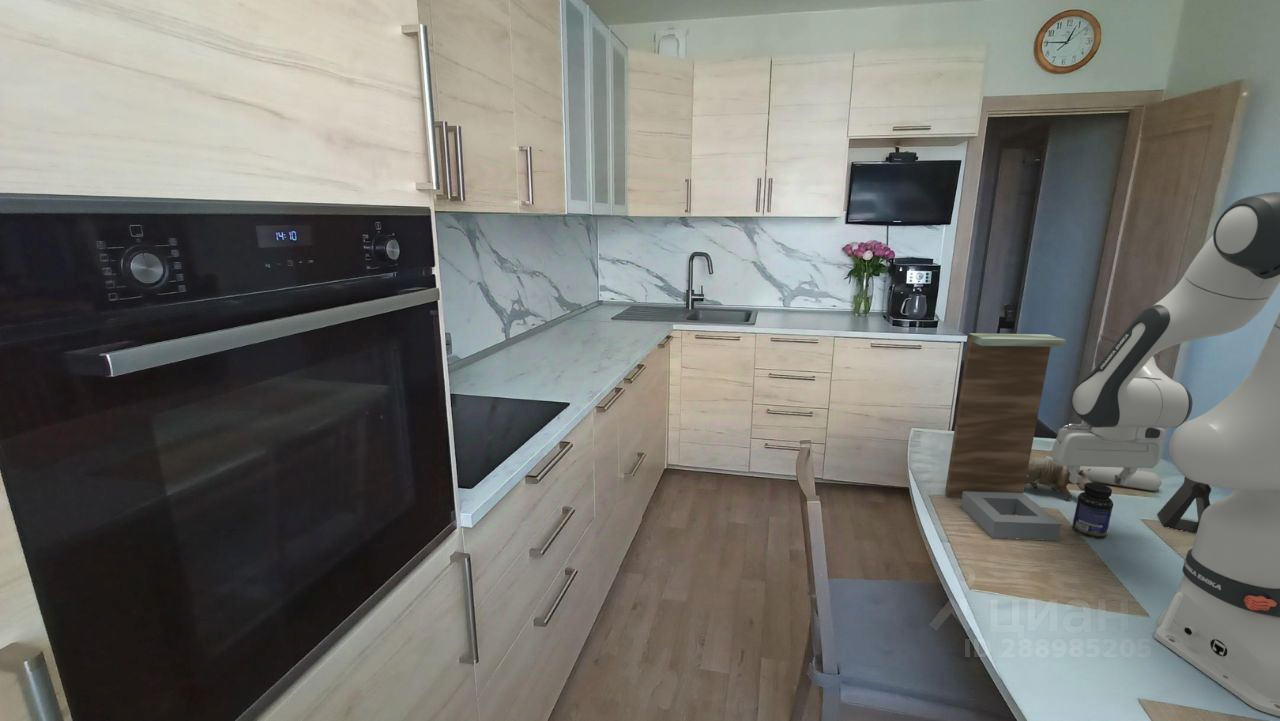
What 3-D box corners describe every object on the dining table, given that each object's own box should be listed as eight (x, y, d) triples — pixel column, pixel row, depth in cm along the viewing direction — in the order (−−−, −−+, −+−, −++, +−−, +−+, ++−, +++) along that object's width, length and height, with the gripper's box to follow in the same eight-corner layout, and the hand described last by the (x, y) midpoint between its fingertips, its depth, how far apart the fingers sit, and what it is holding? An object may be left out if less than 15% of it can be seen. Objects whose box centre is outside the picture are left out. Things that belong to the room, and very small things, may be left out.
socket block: (1058, 540, 122) (1061, 523, 121) (991, 538, 123) (994, 521, 122) (1020, 508, 136) (1023, 493, 135) (960, 506, 137) (962, 491, 136)
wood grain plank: (1033, 508, 136) (1065, 339, 126) (956, 506, 137) (982, 338, 127) (1018, 496, 142) (1048, 334, 131) (944, 494, 143) (969, 333, 132)
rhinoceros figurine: (1005, 467, 152) (1053, 434, 143) (1050, 506, 148) (1103, 474, 139) (1001, 480, 146) (1051, 446, 137) (1048, 520, 142) (1102, 488, 133)
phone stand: (1208, 525, 129) (1222, 477, 126) (1217, 538, 124) (1231, 488, 121) (1156, 515, 133) (1168, 468, 130) (1163, 526, 128) (1175, 478, 125)
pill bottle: (1112, 541, 122) (1123, 494, 120) (1080, 538, 123) (1090, 492, 121) (1096, 526, 128) (1106, 482, 125) (1066, 523, 129) (1075, 479, 127)
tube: (1156, 471, 147) (1042, 455, 157) (1166, 473, 142) (1048, 456, 152) (1154, 492, 147) (1040, 474, 157) (1164, 494, 142) (1046, 476, 152)
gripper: (1070, 429, 117) (1057, 488, 121) (1174, 431, 116) (1157, 491, 120) (1051, 417, 123) (1039, 475, 127) (1149, 420, 122) (1134, 477, 126)
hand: (1097, 483), depth 124 cm, fingers open, 8 cm apart
